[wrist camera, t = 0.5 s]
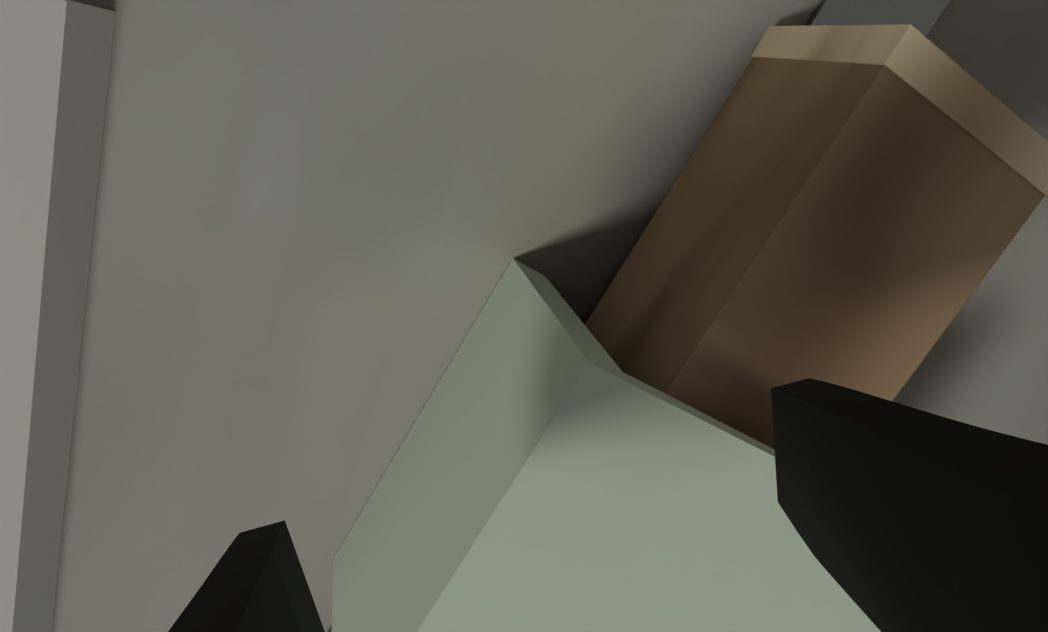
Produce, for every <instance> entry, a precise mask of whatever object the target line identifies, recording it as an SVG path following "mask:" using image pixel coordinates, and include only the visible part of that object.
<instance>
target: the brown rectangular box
mask: <svg viewBox="0 0 1048 632" xmlns="http://www.w3.org/2000/svg"><path fill="white" fill-rule="evenodd" d="M751 56H752V57H753V59H752V61H751V62H750V64H749V65H748V67H747V69H746V70H745V72H744V73H743V75H742V76H741V78H740V80H739V81H738V83H737V84H736V86H735V88H734V89H733V91H732V92H731V94H730V95H729V97H728V99H727V100H726V102H725V103H724V105H723V107H722V108H721V110H720V111H719V113H718V114H717V116H716V118H715V119H714V121H713V122H712V124H711V126H710V127H709V129H708V130H707V132H706V133H705V135H704V137H703V138H702V140H701V141H700V143H699V145H698V146H697V148H696V149H695V151H694V153H693V154H692V156H691V157H690V159H689V160H688V162H687V164H686V165H685V167H684V168H683V170H682V172H681V173H680V175H679V176H678V178H677V179H676V181H675V183H674V184H673V186H672V187H671V189H670V191H669V192H668V194H667V195H666V197H665V198H664V200H663V202H662V203H661V205H660V206H659V208H658V210H657V211H656V213H655V214H654V216H653V217H652V219H651V221H650V222H649V224H648V225H647V227H646V229H645V230H644V232H643V233H642V235H641V237H640V238H639V240H638V241H637V243H636V244H635V246H634V248H633V249H632V251H631V252H630V254H629V256H628V257H627V259H626V260H625V262H624V263H623V265H622V267H621V268H620V270H619V271H618V273H617V275H616V276H615V278H614V279H613V281H612V282H611V284H610V286H609V287H608V289H607V290H606V292H605V294H604V295H603V297H602V298H601V300H600V301H599V303H598V305H597V306H596V308H595V309H594V311H593V313H592V314H591V316H590V317H589V319H588V321H587V322H586V324H585V326H586V327H587V328H588V330H589V331H590V332H591V333H592V335H593V336H594V337H595V338H596V340H597V341H598V342H599V343H600V345H601V346H602V347H603V348H604V350H605V351H606V352H607V353H608V354H609V356H610V357H611V358H612V359H613V361H614V362H615V363H616V364H617V366H618V367H619V368H620V369H621V371H622V372H624V373H626V374H628V375H630V376H632V377H634V378H636V379H637V380H639V381H641V382H643V383H645V384H647V385H649V386H651V387H653V388H655V389H657V390H659V391H661V392H663V393H665V394H667V395H669V396H671V397H673V398H675V399H677V400H679V401H681V402H683V403H684V404H686V405H688V406H690V407H692V408H694V409H696V410H698V411H700V412H702V413H704V414H706V415H708V416H710V417H712V418H714V419H716V420H718V421H720V422H722V423H724V424H726V425H728V426H730V427H732V428H733V429H735V430H737V431H739V432H741V433H743V434H745V435H747V436H749V437H751V438H753V439H755V440H757V441H759V442H761V443H763V444H765V445H767V446H769V447H771V448H773V449H774V433H773V416H772V400H771V388H774V387H778V386H781V385H785V384H789V383H792V382H796V381H800V380H803V379H807V378H811V379H815V380H820V381H824V382H828V383H832V384H836V385H839V386H843V387H846V388H850V389H853V390H856V391H860V392H863V393H866V394H870V395H873V396H876V397H879V398H882V399H886V400H889V401H893V400H894V398H895V397H896V396H897V394H898V393H899V392H900V390H901V389H902V387H903V386H904V385H905V383H906V382H907V381H908V379H909V378H910V377H911V375H912V374H913V373H914V371H915V370H916V369H917V367H918V366H919V365H920V363H921V362H922V361H923V359H924V358H925V356H926V355H927V354H928V352H929V351H930V350H931V348H932V347H933V346H934V344H935V343H936V342H937V340H938V339H939V338H940V336H941V335H942V334H943V332H944V331H945V329H946V328H947V327H948V325H949V324H950V323H951V321H952V320H953V319H954V317H955V316H956V315H957V313H958V312H959V311H960V309H961V308H962V307H963V305H964V304H965V302H966V301H967V300H968V298H969V297H970V296H971V294H972V293H973V292H974V290H975V289H976V288H977V286H978V285H979V284H980V282H981V281H982V280H983V278H984V277H985V275H986V274H987V273H988V271H989V270H990V269H991V267H992V266H993V265H994V263H995V262H996V261H997V259H998V258H999V257H1000V255H1001V254H1002V253H1003V251H1004V250H1005V248H1006V247H1007V246H1008V244H1009V243H1010V242H1011V240H1012V239H1013V238H1014V236H1015V235H1016V234H1017V232H1018V231H1019V230H1020V228H1021V227H1022V226H1023V224H1024V223H1025V221H1026V220H1027V219H1028V217H1029V216H1030V215H1031V213H1032V212H1033V211H1034V209H1035V208H1036V207H1037V205H1038V204H1039V203H1040V201H1041V200H1042V199H1043V197H1044V196H1046V197H1048V141H1047V140H1045V139H1044V138H1043V137H1042V136H1041V135H1040V134H1038V133H1037V132H1036V131H1035V130H1034V129H1033V128H1031V127H1030V126H1029V125H1028V124H1027V123H1026V122H1024V121H1023V120H1022V119H1021V118H1020V117H1019V116H1017V115H1016V114H1015V113H1014V112H1013V111H1012V110H1010V109H1009V108H1008V107H1007V106H1006V105H1005V104H1003V103H1002V102H1001V101H1000V100H999V99H998V98H996V97H995V96H994V95H993V94H992V93H991V92H989V91H988V90H987V89H986V88H985V87H983V86H982V85H981V84H980V83H979V82H978V81H976V80H975V79H974V78H973V77H972V76H971V75H969V74H968V73H967V72H966V71H965V70H964V69H962V68H961V67H960V66H959V65H958V64H957V63H955V62H954V61H953V60H952V59H951V58H950V57H948V56H947V55H946V54H945V53H944V52H943V51H941V50H940V49H939V48H938V47H937V46H936V45H934V44H933V43H932V42H931V41H930V40H929V39H927V38H926V37H925V36H924V35H923V34H922V33H920V32H919V31H918V30H917V29H916V28H915V27H913V26H912V25H911V24H908V25H820V26H770V27H769V29H768V30H767V32H766V33H765V35H764V36H763V38H762V40H761V41H760V43H759V44H758V46H757V48H756V49H755V51H754V52H753V54H752V55H751Z"/></svg>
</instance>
